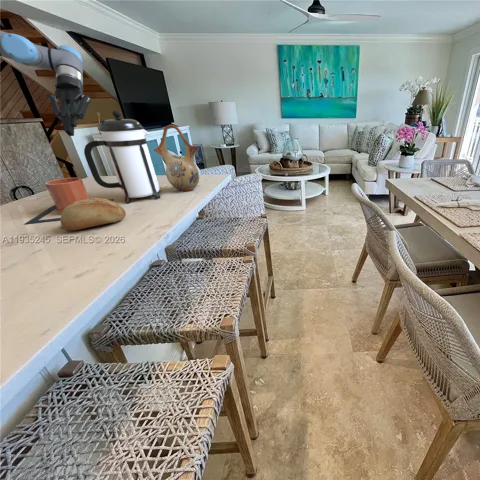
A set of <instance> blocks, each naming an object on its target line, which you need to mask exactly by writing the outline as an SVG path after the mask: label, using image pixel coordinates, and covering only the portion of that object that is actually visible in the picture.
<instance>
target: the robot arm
mask: <svg viewBox="0 0 480 480" xmlns="http://www.w3.org/2000/svg"><path fill="white" fill-rule="evenodd" d="M0 57H2V58H4V59H5V58H6V59H7V60H8V59H9V60H12V61H13V62H15V63H16V64H19V65H23V66H26V67H33V68H38V69H43V70H48V71H52V72H55V91H54V94H50V93H47V94H46V95H45V96H46V97H47V98H48V100H49V102H50V104H51V107H52V110H53V113H54V114H55V116H56V117H57V118H58V119H59V120H60V121H61V125H62V126H63V127H64V130H63V131H64V132H65V133H66V135H68V137H74V136H75V128H77V127H78V121H79V120H84V118H85V115H86V113H87V110H88V108H89V105H90V103H92V99H91V98H90V96H89V94H84V64H83V63H84V61H83V56H82V55H81V53H80V52H79V51H78V50H77V49H76V48H74V47H72V46H70V45H65V44H64V45H58V46H57V48H51V47H47V46H43V45H39V44H35V43H33V42H32V41H30V40H29V39H28V38H26V37H25V36H22V35H21V34H16V33H9V32H6V31H3V30H0ZM59 100H60V106H59V103H58V102H59Z"/></svg>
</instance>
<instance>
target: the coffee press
mask: <svg viewBox="0 0 480 480" xmlns="http://www.w3.org/2000/svg"><path fill="white" fill-rule="evenodd" d="M112 116H113V117H114V118H110V119H103V120H102V121H100V122H99V123H98V128H97V131H98V132H99V133H100V135H101V137H102V140H91V141H89V142H88V143H87V144H85V146H84V149H83V155H84V157H85V161H86V163H87V165H88V169H89V171H90V173H91V175H92V177H93V180H94V181H95V182H96V184H98V185H99V186H101V187H103V188H106V189H116V188H118V189H120V190H121V192H122V194H123V196H124V200H123V201H124V203H126V204H131V203H132V201H133V199H138V198H146V197H150V196H151V197H153V198H154V199H155V200H159V199H161V195H160V194H159V193H160V192H161V189H160V185H159V181H158V178H157V175H156V171H155V168H154V164H153V161H152V157H151V154H150V151H149V147H148V142H147V138H146V137H145V136H150V132H149V131H147V130H146V129H144V126H143V125H142V124H141V123H140V122H139V121H138V120H136V119H133V118H122V117H121V116H122V113H121V112H120V111H119V110H116V109H115V110H113V111H112ZM101 146H102V147H103V146H104V147H105V148H106V151H107V154H108V157H109V159H110V162H111V165H112V168H113V171H114V173H115V176H116V179H117V181H118V182H106V181H104V180H103V179H102V177H101V176H100V173H99V171H98V168H97V166H96V163H95V161H94V157H93V155H92V150H93V148H96V147H101Z"/></svg>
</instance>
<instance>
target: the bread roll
mask: <svg viewBox="0 0 480 480" xmlns="http://www.w3.org/2000/svg"><path fill="white" fill-rule="evenodd" d="M89 198H90V197H89ZM126 216H127V213H126V210H125V209H124V208H123V206H121V205H120V204H119V203H116V202H114V200H113V201H110V200H108V199H107V198H101V197H93V198H92V197H91V198H90V199H83V200H79V201H76V202H74V203H72V204H70V205H69V206H67V207H66V208H65V209H64V210H63V212H62V214H61V216H60V218H61V219H60V220H59V221H60V225H61V226H62V227H63V229H65V230H67V231H80V230H83V229H88V228H93V227H96V226H101V225H107V224H112V223H117V222H119V221H122V220H123V219H125V218H126Z"/></svg>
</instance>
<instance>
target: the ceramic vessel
mask: <svg viewBox="0 0 480 480" xmlns="http://www.w3.org/2000/svg"><path fill="white" fill-rule="evenodd" d="M169 129H174V130H176V131H177V133H178V135H179V136H180V138H181V140H182V142H183V144H184V149H185V155H184V156H183V157H182V158H176V157H174V156H172V155H171V154H170V152H169V151H168V146H167V135H168V134H167V133H168V130H169ZM199 150H200V148H199V147H198V146H196V145H192V144H190V143H189V142H188V140H187V138H186V137H185V135H184V134H183V132H182V130H181V129H180V128H179V127H178V126H177V125H174V124H168V125H165V126H164V128H163V132H162V136H161V140H160V143H159V145H158V147H157V148H154V149H153V151H154V152H155V153H157V154H158V155H159V156H160V157H161V158H162V159H163V160H164V162H165V176H166V178H167V181H168V182H169V184H170V185H171V186H172V187H173V188H174V189H176V190H178V191H180V192H189V191H193V190H195V189H196V187H198V185H199V182H200V173H199V170H198V169H199V168H198V167H197V166H196V164H195V156H196V154H197V153H198V151H199Z"/></svg>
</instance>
